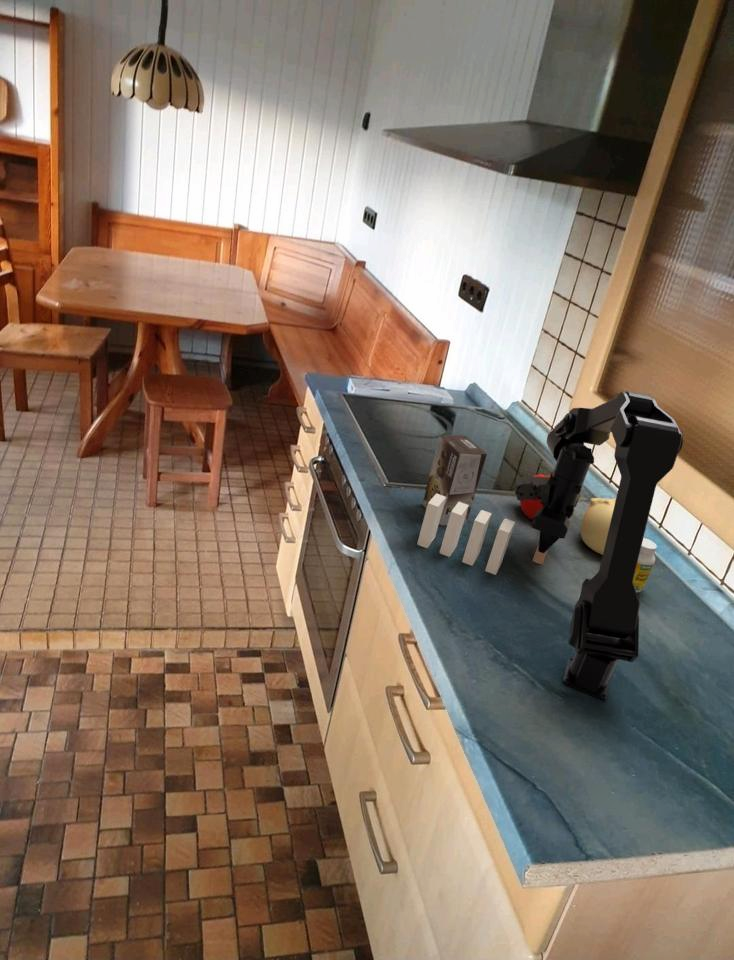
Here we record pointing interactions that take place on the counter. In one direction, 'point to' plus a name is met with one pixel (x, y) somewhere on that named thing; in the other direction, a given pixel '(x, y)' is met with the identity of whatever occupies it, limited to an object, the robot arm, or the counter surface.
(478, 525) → the domino
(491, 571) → the domino
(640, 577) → the supplement bottle
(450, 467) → the coffee box
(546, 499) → the robot arm
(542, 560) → the domino
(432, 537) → the domino
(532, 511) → the tomato
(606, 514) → the pale yellow round lump
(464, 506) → the domino
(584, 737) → the counter surface
